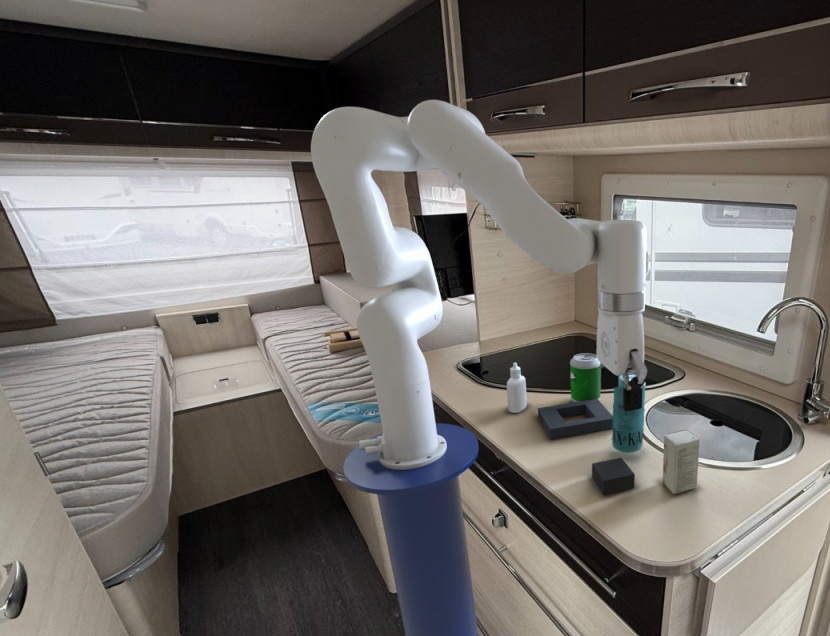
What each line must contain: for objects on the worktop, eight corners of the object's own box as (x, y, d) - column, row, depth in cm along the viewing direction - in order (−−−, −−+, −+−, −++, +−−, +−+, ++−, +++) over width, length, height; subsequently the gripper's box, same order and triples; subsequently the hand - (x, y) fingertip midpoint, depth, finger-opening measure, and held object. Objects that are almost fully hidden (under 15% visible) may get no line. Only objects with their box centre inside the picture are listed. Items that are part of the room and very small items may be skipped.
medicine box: (684, 475, 88) (688, 428, 85) (697, 488, 85) (702, 439, 81) (660, 481, 87) (663, 433, 83) (672, 495, 83) (676, 445, 79)
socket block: (550, 439, 101) (550, 429, 100) (538, 417, 111) (537, 407, 110) (614, 427, 106) (614, 418, 105) (597, 407, 116) (597, 398, 115)
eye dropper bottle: (503, 408, 115) (499, 363, 111) (523, 402, 118) (520, 358, 114) (512, 414, 112) (508, 368, 108) (532, 408, 115) (529, 362, 111)
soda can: (605, 398, 121) (605, 354, 116) (592, 410, 114) (592, 364, 110) (579, 393, 124) (578, 350, 119) (565, 404, 117) (564, 359, 113)
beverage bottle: (610, 444, 99) (611, 355, 92) (641, 443, 100) (644, 354, 93) (612, 460, 93) (614, 366, 86) (645, 459, 94) (650, 366, 86)
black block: (603, 495, 83) (603, 480, 82) (591, 477, 88) (591, 463, 87) (634, 488, 85) (634, 473, 84) (621, 470, 90) (621, 457, 89)
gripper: (581, 292, 81) (583, 383, 87) (621, 315, 66) (620, 423, 72) (621, 289, 84) (620, 377, 90) (668, 310, 69) (663, 415, 75)
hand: (620, 398), depth 81 cm, fingers open, 9 cm apart
